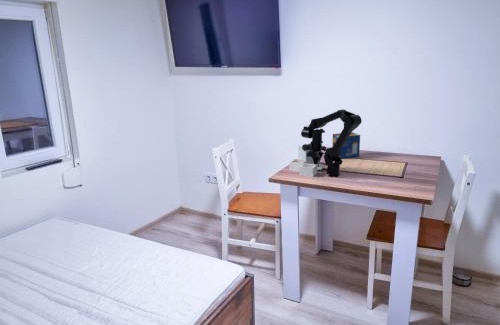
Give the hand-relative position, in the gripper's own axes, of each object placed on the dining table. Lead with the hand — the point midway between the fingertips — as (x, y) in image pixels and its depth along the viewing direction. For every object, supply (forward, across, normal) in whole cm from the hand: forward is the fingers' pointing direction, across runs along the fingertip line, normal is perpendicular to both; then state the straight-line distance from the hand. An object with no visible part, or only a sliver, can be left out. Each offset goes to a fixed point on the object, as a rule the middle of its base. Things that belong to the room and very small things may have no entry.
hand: (316, 165), depth 223 cm
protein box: (+4, -41, +7) cm, 42 cm away
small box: (+4, -9, -10) cm, 14 cm away
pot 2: (+4, +11, -1) cm, 12 cm away
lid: (+1, 0, 0) cm, 1 cm away
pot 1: (+4, +4, -10) cm, 11 cm away
